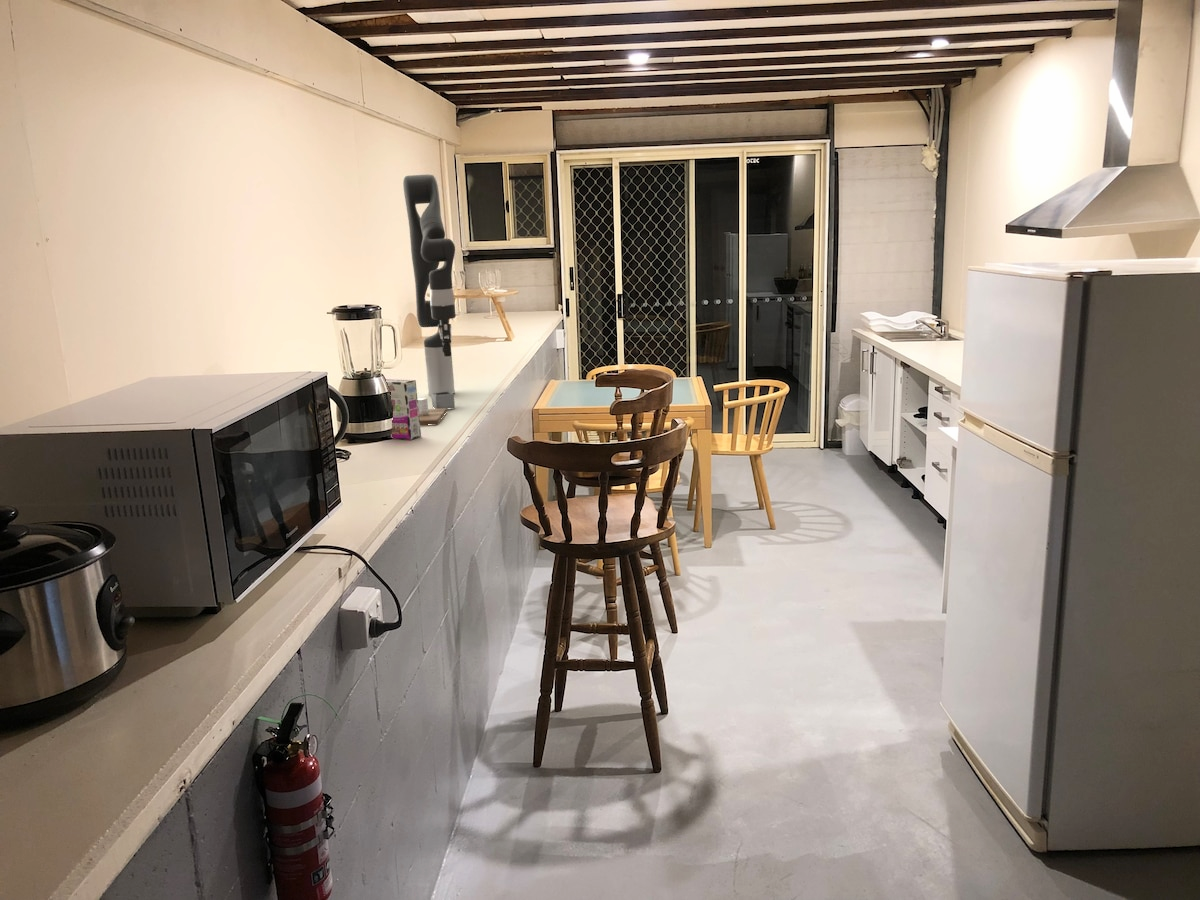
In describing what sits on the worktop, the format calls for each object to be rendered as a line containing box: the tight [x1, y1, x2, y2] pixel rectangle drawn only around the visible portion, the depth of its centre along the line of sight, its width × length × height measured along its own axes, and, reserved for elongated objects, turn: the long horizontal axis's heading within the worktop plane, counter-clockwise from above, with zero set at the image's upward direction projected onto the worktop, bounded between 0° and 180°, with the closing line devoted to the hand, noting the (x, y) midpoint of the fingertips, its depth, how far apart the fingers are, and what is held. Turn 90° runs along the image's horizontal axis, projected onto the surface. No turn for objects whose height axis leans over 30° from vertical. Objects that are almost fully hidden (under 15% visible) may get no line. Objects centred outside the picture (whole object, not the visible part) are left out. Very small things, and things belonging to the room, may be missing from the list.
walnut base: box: [419, 408, 448, 426], centre depth 279 cm, size 18×12×2 cm, turn 0°
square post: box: [417, 397, 429, 416], centre depth 278 cm, size 3×3×5 cm
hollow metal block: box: [431, 391, 456, 409], centre depth 295 cm, size 6×6×5 cm
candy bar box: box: [386, 378, 422, 441], centre depth 254 cm, size 11×5×16 cm, turn 62°
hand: (447, 354), depth 289 cm, fingers open, 8 cm apart
